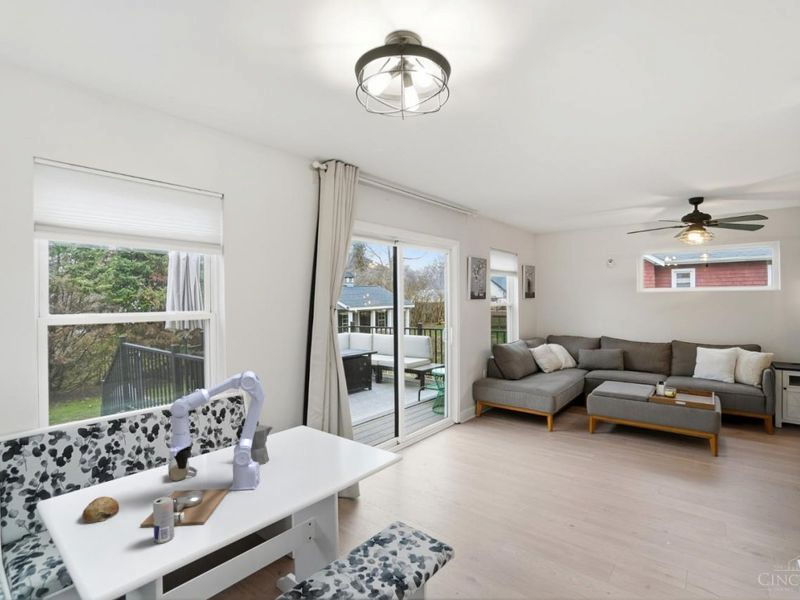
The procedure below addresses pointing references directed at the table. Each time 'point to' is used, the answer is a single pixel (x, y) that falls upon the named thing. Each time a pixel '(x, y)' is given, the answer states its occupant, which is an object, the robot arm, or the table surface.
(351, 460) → the table surface
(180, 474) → the ceramic mug
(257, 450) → the coffeepot
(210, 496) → the stand board
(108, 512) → the bread roll
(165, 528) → the energy drink
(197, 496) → the grey metal rounded piece
